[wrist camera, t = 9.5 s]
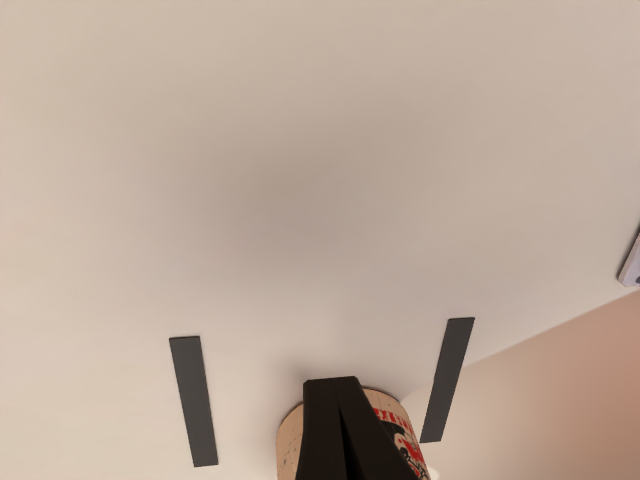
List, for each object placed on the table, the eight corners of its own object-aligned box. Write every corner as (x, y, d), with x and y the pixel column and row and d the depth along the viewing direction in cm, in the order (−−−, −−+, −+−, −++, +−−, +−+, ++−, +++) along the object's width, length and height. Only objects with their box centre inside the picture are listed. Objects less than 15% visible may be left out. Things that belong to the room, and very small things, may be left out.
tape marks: (474, 317, 24) (474, 318, 24) (440, 439, 30) (440, 441, 30) (169, 338, 22) (168, 339, 22) (194, 465, 28) (194, 467, 28)
